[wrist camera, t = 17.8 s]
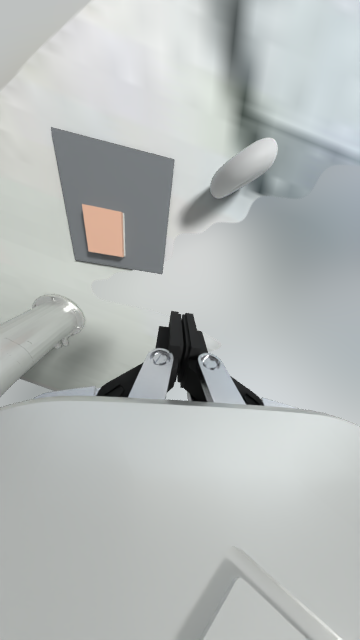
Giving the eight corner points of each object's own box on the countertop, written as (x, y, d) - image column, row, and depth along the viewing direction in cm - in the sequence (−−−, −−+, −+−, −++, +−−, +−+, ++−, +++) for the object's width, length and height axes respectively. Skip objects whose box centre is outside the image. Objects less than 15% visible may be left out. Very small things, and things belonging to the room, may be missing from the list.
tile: (122, 257, 31) (88, 251, 30) (125, 256, 32) (93, 250, 32) (121, 211, 27) (81, 203, 26) (124, 213, 28) (87, 205, 28)
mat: (162, 273, 35) (162, 274, 35) (76, 259, 33) (75, 259, 32) (174, 161, 25) (174, 159, 25) (53, 129, 23) (50, 126, 22)
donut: (254, 155, 25) (295, 113, 17) (257, 179, 27) (296, 151, 18) (202, 186, 27) (215, 162, 19) (208, 207, 29) (223, 194, 20)
